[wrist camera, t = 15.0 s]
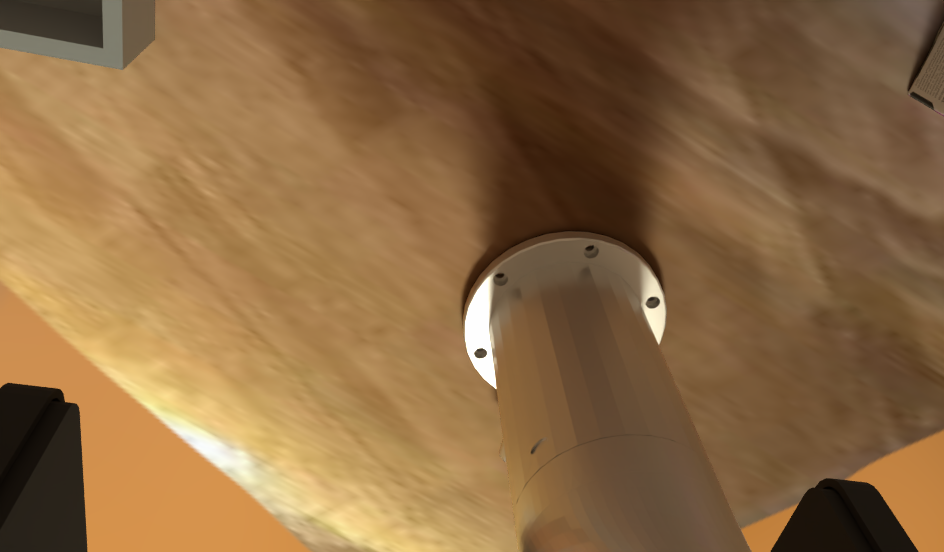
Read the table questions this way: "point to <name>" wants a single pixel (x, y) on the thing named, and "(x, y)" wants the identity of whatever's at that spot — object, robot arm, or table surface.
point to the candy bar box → (931, 77)
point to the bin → (79, 29)
